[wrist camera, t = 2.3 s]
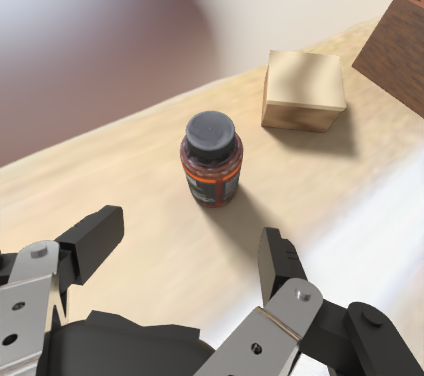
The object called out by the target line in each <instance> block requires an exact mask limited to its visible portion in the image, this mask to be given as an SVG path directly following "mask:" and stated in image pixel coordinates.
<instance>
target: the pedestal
mask: <svg viewBox="0 0 424 376" xmlns="http://www.w3.org/2000/svg"><path fill="white" fill-rule="evenodd" d="M345 109H346V101H345V94H344V86H343V78H342V71H341V63H340V56H337V55H324V54H311V53H298V52H285V51H272V50H271V51H270V54H269V65H268V69H267V73H266V77H265V82H264V95H263V109H262V123H261V126H266V127H275V128H285V129H294V130H304V131H313V132H323V133H325V132H326V131H327V129H328V128H329V127H330V125H331V124H332V123H333V121H334V120H335V118H336V117H337V116H338V114H339V113H340V112H341V111H344V110H345Z"/></svg>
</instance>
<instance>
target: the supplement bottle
mask: <svg viewBox="0 0 424 376" xmlns="http://www.w3.org/2000/svg"><path fill="white" fill-rule="evenodd" d="M180 157H181V162H182V165H183V168H184V171H185V175H186V178H187V181H188V184H189V188H190V191H191V193H192V195H193V197H194V198H195V200H196V201H198V202H199V203H200V204H202V205H204V206H207V207H219V206H223V205H225V204H227V203H228V202H229V201H230V200H231V199H232V198H233V197H234V195H235V193H236V190H237V186H238V180H239V175H240V170H241V164H242V159H243V145H242V142H241V139H240V137H239V136H238V135H237V133H236V132H235V127H234V124H233V122H232V120H231V119H230V118H229V117H228V116H227V115H225V114H223V113H221V112H217V111H205V112H201V113H199V114H197V115H195V116H194V117H192V118H191V120H190V121H189V123H188V124H187V126H186V135H185V137H184V138H183V140H182V143H181V146H180Z"/></svg>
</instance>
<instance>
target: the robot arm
mask: <svg viewBox="0 0 424 376" xmlns="http://www.w3.org/2000/svg"><path fill="white" fill-rule="evenodd" d="M123 236H124V220H123V210H122V208H121V207H119V206H111V205H106V206H105V207H103V208H102V209H101V210H99V211H98V212H96V213H93V214H91V215H88V216H86V217H85V218H84V219H82V220H81V221H80V222H78V223H77V224H75V225H74V227H71V228H70V229H69V230H67V231H66V232H64V233H63V234H62V235H60V236H59V237H58V238H56V239H55V240H54V241H50V240H47V241H40V242H36V243H33V244H30V245H28V246H26V247H25V248H23V249H22V250H21V251H20V252H19V253H8V254H1V251H0V376H291V375H292V373H293V371H294V369H295V367H296V365H297V363H298V361H299V359H300V358H301V356H302V354H305V355H307V356H309V357H311V358H313V359H315V360H317V361H319V362H321V363H323V364H325V365H327V367H328V371H329V374H330V376H424V371H423V370H422V368H421V367H420V365H419V363H418V362H417V360H416V359H415V357H414V356H413V354H412V353H411V351H410V350H409V348H408V346H407V345H406V343H405V342H404V340H403V339H402V337H401V336H400V334H399V332H398V331H397V329H396V328H395V326H394V325H393V323H392V322H391V321H390V319H389V318H388V317H387V316H386V315H385V314H383V313H382V312H381V311H379V310H378V309H376V308H375V307H373V306H371V305H369V304H366V303H362V302H352V303H351V304H350V305H349V306H348V308H347V309H346V308H344V307H341V306H339V305H336V304H334V303H331V302H329V301H327V300H325V299H323V296H322V294H321V292H320V291H319V290H318V288H317V287H316V286H314V285H313V284H312V283H310V282H308V280H307V277H306V275H305V272H304V270H303V267H302V264H301V262H300V260H299V257H298V254H297V252H296V249H295V247H294V245H293V244H292V243H291V242H290V241H289V240H288V239H282V238H281V235H280V232H279V229H278V228H270V227H264V228H263V232H262V236H261V241H260V246H259V251H258V266H259V274H260V282H261V290H262V298H263V307H264V308H261V307H260V306H257V307H256V308H255V309H254V310H253V311H252V312H251V313H250V314H249V315H248V316H247V317H246V318H245V320H244V321H243V322H242V323H241V324H240V325H239V326H238V327H237V328H236V329H235V331H234V332H233V333H232V334H231V335H230V336H229V337H228V338H227V339H226V340H225V341H224V343H223V344H222V345H221V346H220V347H219V348H218V349H217V350H215V349H213V348H212V347H211V346H210V345H208V344H207V343H205V342H204V341H202V340H200V339H199V335H200V329H197V328H191V327H185V326H180V325H174V324H171V325H158V326H146V327H143V326H140V325H138V324H136V323H134V322H132V321H130V320H128V319H126V318H124V317H122V316H120V315H117V314H112V313H106V312H100V311H94V310H92V312H91V313H90V315H89V316H88V317H87V319H86V320H80V321H75V322H72V323H68V322H69V289H68V287H69V286H70V285H71V284H76V285H82V286H83V285H84V283H85V282H86V281H87V280H88V279H89V278H90V277H91V275H92V274H93V273H94V272H95V271H96V270H97V268H98V267H99V266H100V265H101V264H102V263H103V261H104V260H105V259H106V258H107V257H108V256H109V254H110V253H111V252H112V251H113V250H114V249H115V248H116V246H117V245H118V244H119V243H120V242H121V240H122V238H123Z"/></svg>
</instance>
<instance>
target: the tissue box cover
mask: <svg viewBox="0 0 424 376" xmlns="http://www.w3.org/2000/svg"><path fill="white" fill-rule="evenodd" d="M352 67H353V68H354V69H356V70H357V71H359V72H360V73H361V74H363V75H364V76H366V77H367V78H368V79H370V80H371V81H373V82H374V83H375V84H377V85H378V86H380V87H381V88H382V89H384V90H385V91H386V92H388V93H389V94H391V95H392V96H393V97H395V98H396V99H398V100H399V101H400V102H402V103H403V104H405V105H406V106H407V107H409V108H410V109H411V110H413V111H414V112H416V113H417V114H418V115H420V116H421V117H423V118H424V0H393V1H392V3H391V4H390V6H389V7H388V9H387V10H386V12H385V14H384V15H383V17H382V18H381V20H380V22H379V23H378V25H377V26H376V28H375V29H374V31H373V33H372V34H371V36H370V37H369V39H368V41H367V42H366V44H365V45H364V47H363V48H362V50H361V52H360V53H359V55H358V56H357V58H356V60H355V61H354V63H353V64H352Z"/></svg>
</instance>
